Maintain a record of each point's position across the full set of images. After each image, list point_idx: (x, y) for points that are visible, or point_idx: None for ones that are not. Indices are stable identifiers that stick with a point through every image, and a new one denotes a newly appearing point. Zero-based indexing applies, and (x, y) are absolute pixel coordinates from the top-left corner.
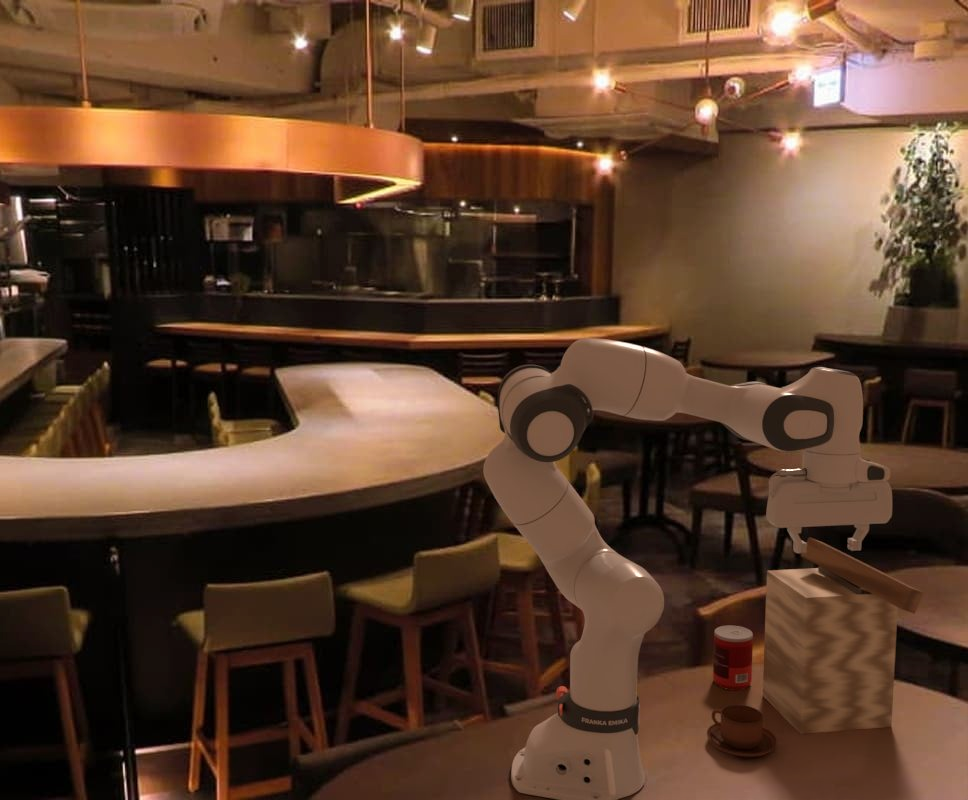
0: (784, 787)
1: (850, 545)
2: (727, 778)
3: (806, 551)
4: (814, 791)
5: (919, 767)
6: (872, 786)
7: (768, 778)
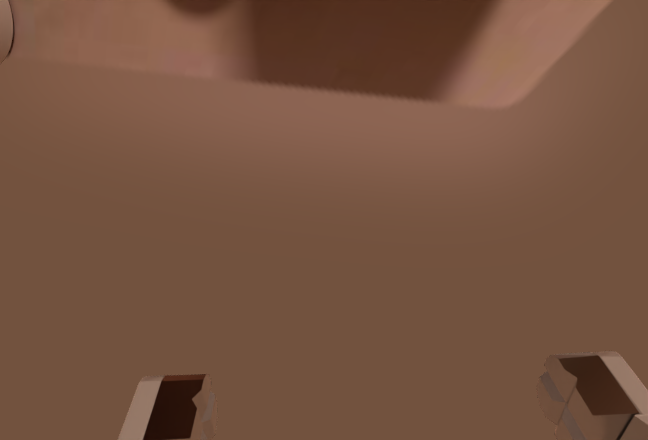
0: (254, 71)
1: (560, 395)
2: (165, 31)
3: (215, 424)
4: (297, 87)
5: (508, 34)
6: (394, 83)
7: (237, 40)
